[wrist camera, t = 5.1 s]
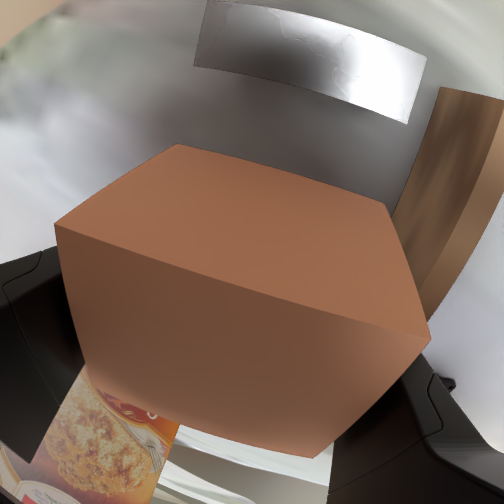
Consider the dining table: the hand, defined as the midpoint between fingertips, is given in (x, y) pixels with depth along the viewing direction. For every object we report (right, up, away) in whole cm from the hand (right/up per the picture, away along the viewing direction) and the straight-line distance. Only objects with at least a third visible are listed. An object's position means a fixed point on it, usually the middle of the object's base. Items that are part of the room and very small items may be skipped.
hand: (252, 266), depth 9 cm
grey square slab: (+3, +9, +3) cm, 10 cm away
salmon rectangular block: (0, +1, +1) cm, 1 cm away
